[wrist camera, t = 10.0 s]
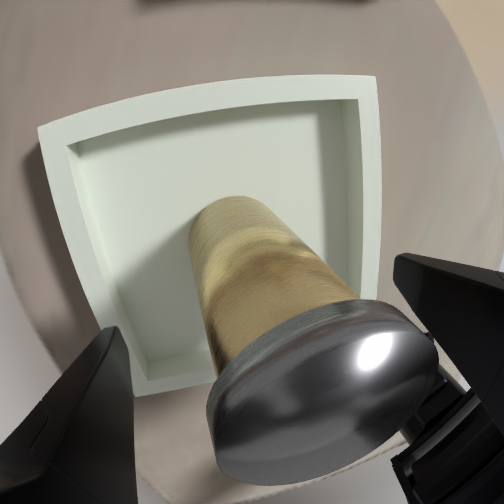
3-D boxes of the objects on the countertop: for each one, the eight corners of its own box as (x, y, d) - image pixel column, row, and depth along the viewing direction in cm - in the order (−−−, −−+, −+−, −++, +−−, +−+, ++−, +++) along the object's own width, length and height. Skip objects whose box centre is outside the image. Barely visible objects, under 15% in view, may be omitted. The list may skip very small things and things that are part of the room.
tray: (354, 314, 18) (371, 333, 16) (136, 370, 16) (135, 397, 14) (350, 79, 12) (375, 76, 11) (55, 125, 10) (37, 127, 8)
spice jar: (303, 255, 15) (437, 406, 6) (215, 307, 15) (278, 498, 6) (258, 164, 12) (433, 276, 4) (156, 226, 12) (157, 436, 4)
